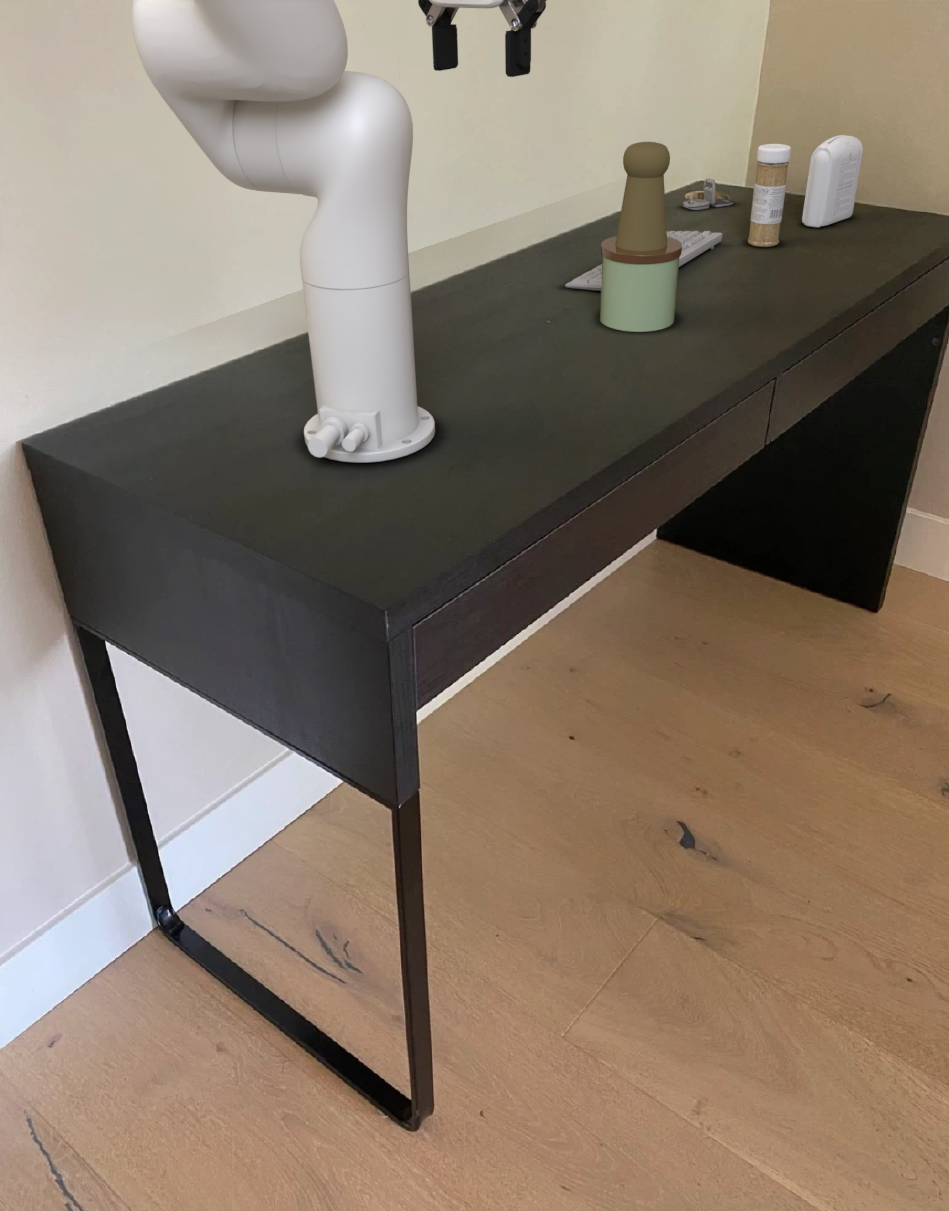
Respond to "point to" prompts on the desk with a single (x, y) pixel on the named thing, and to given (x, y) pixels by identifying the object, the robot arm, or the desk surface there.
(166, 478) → the desk surface
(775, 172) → the sprinkles bottle
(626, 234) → the brown tapered tall piece
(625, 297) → the canister
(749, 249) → the desk surface
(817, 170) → the white plastic container
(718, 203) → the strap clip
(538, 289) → the desk surface
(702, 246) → the keyboard
